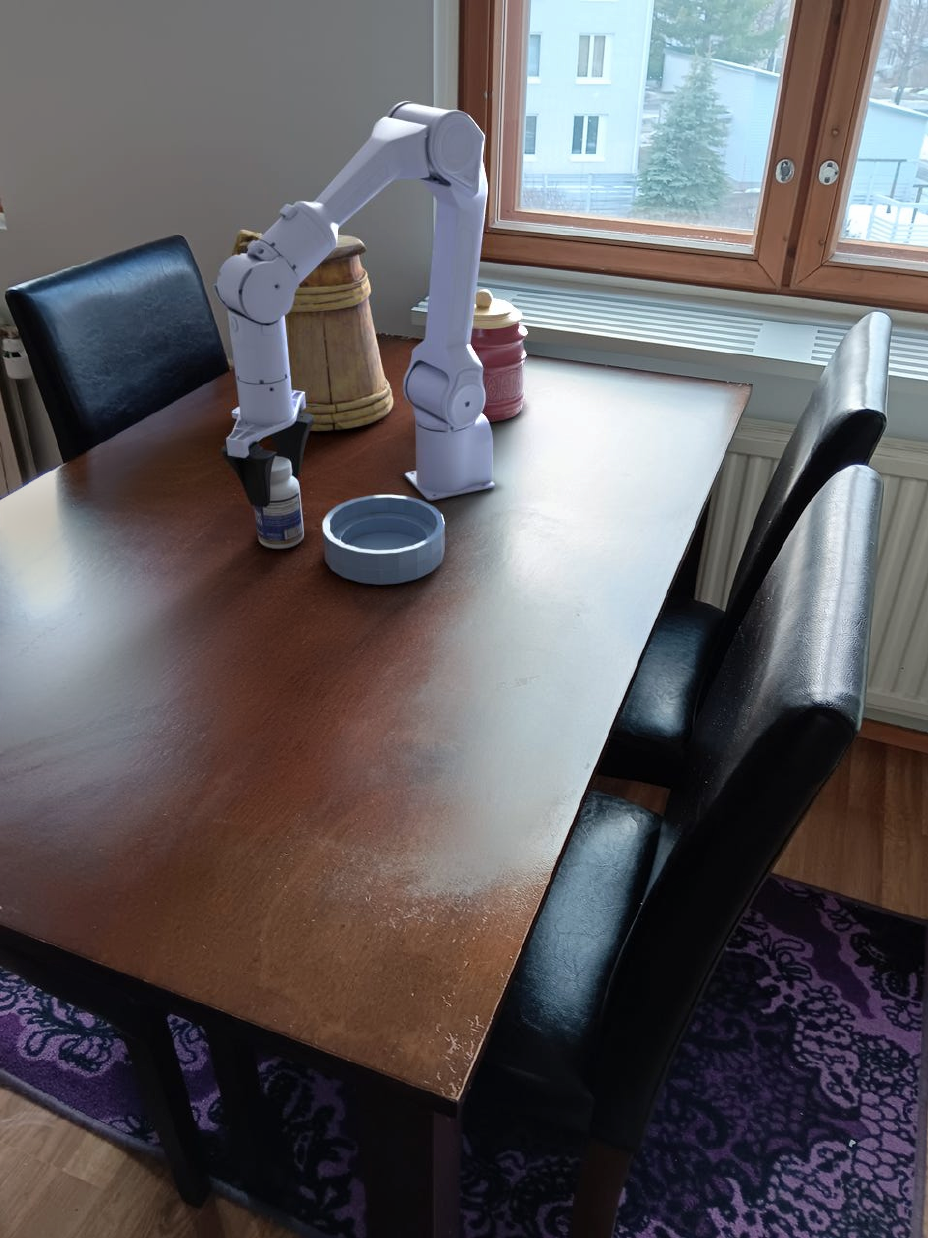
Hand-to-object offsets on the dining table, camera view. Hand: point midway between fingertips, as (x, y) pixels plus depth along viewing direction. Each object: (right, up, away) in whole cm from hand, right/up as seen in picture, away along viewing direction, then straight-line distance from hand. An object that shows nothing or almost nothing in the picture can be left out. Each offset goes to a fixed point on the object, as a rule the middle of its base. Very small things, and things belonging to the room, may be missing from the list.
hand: (275, 489), depth 111 cm
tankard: (-1, +17, +36) cm, 40 cm away
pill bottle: (0, -5, +4) cm, 7 cm away
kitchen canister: (+24, +17, +37) cm, 48 cm away
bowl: (+12, -8, 0) cm, 15 cm away
